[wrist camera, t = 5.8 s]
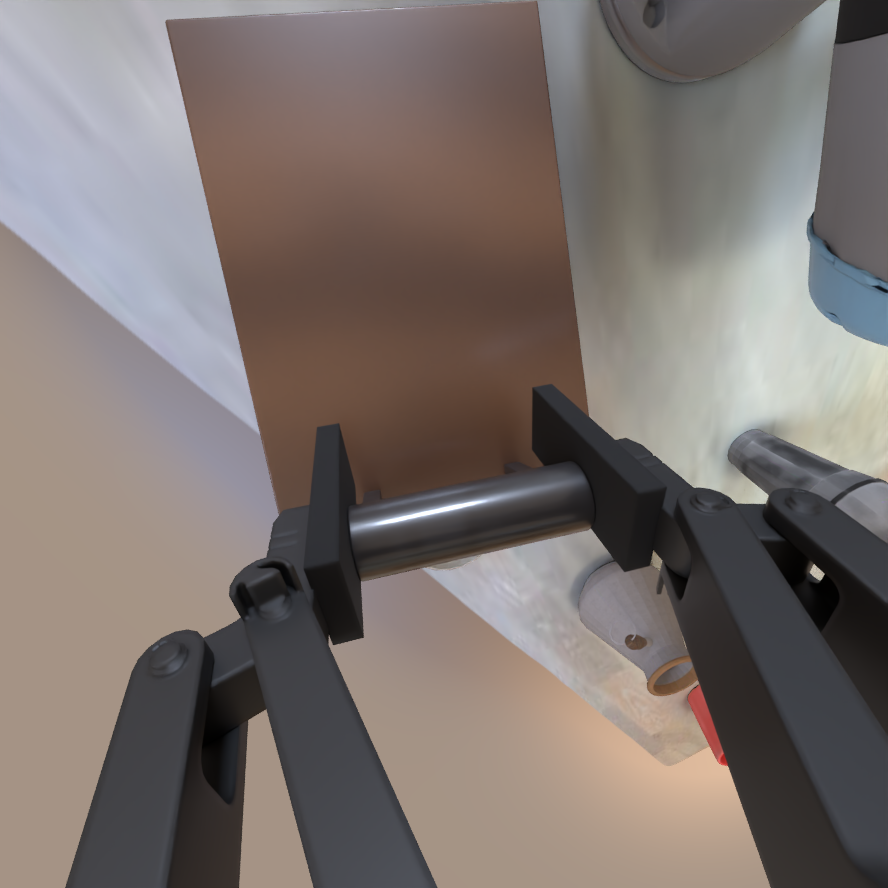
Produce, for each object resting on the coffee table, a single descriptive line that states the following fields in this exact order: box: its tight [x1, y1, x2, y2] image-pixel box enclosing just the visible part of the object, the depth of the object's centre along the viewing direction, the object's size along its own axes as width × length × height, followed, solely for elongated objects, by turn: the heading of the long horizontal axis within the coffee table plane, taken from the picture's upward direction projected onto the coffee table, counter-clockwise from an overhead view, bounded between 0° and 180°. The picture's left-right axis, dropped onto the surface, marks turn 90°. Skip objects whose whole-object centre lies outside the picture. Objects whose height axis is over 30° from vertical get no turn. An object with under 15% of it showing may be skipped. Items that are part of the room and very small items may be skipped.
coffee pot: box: [578, 561, 698, 696], centre depth 46 cm, size 21×12×15 cm, turn 40°
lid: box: [166, 1, 595, 581], centre depth 14 cm, size 20×14×7 cm
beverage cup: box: [728, 430, 888, 544], centre depth 39 cm, size 7×7×20 cm
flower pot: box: [688, 684, 728, 766], centre depth 73 cm, size 11×11×10 cm
